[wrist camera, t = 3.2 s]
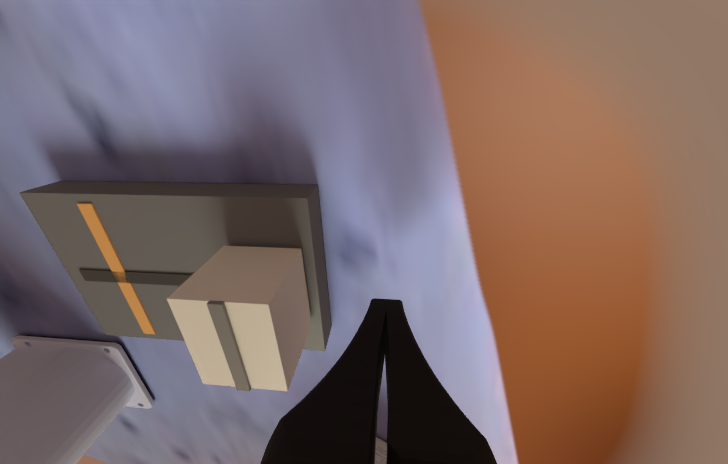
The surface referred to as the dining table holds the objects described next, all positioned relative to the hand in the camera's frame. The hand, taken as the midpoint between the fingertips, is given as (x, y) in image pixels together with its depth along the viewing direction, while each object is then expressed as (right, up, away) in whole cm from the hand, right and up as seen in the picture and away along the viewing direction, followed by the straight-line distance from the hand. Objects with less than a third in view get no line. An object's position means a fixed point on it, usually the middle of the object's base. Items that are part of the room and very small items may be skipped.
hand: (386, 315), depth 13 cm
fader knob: (-6, +1, +2) cm, 6 cm away
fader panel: (-11, +2, +5) cm, 12 cm away
